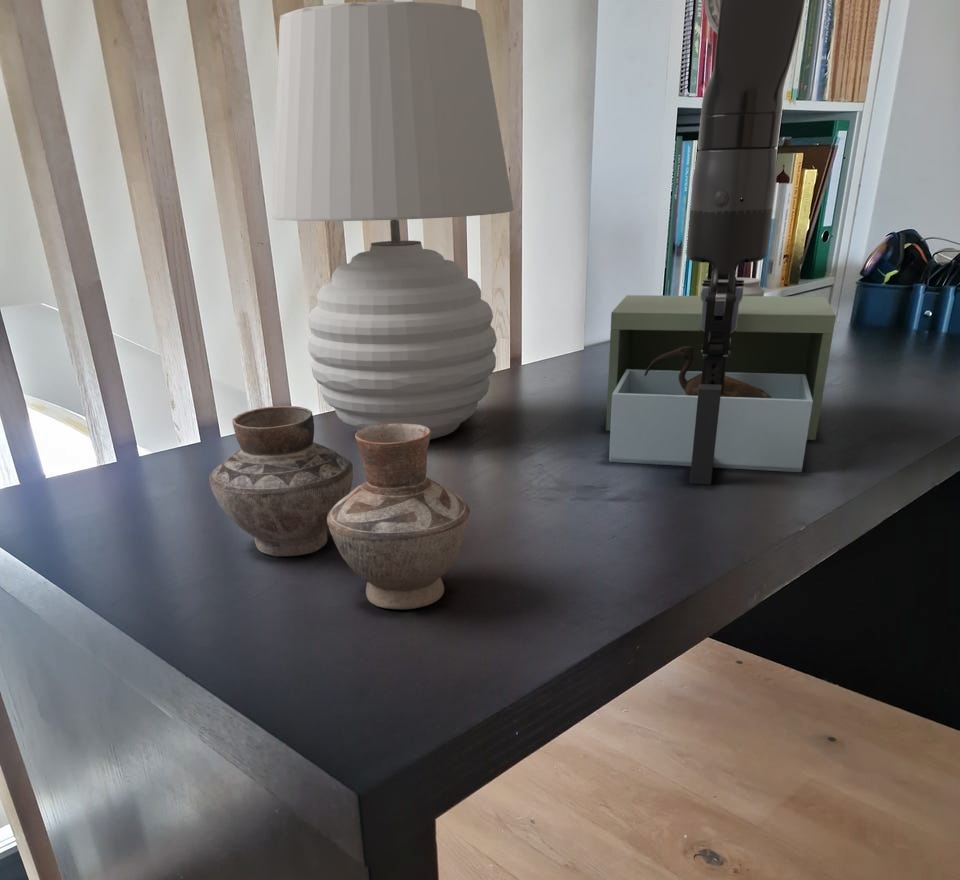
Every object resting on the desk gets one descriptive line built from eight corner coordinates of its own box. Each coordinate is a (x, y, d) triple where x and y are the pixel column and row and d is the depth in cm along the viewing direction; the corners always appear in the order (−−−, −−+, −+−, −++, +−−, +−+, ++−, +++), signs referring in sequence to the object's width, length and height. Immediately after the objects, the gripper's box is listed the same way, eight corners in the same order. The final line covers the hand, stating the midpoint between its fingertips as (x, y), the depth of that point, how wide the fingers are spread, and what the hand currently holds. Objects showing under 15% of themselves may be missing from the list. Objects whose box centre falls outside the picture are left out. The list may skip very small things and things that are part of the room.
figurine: (643, 438, 89) (648, 351, 85) (638, 426, 93) (643, 343, 89) (780, 436, 88) (792, 348, 84) (769, 425, 92) (781, 340, 88)
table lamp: (403, 478, 86) (367, -17, 67) (257, 436, 101) (194, 23, 82) (558, 424, 102) (565, 13, 83) (412, 395, 117) (390, 42, 98)
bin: (804, 490, 80) (820, 392, 75) (601, 478, 84) (605, 385, 80) (795, 439, 95) (808, 354, 90) (623, 431, 99) (627, 350, 95)
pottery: (392, 643, 56) (377, 466, 50) (196, 547, 71) (167, 402, 66) (508, 587, 63) (507, 426, 57) (307, 510, 78) (290, 377, 73)
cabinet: (815, 440, 94) (836, 315, 88) (605, 430, 99) (611, 312, 93) (807, 409, 106) (825, 296, 99) (620, 402, 111) (626, 295, 105)
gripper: (775, 208, 73) (750, 408, 82) (771, 201, 85) (749, 376, 94) (685, 209, 75) (669, 405, 83) (694, 202, 87) (679, 374, 95)
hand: (712, 389), depth 89 cm, fingers closed on figurine, 4 cm apart
